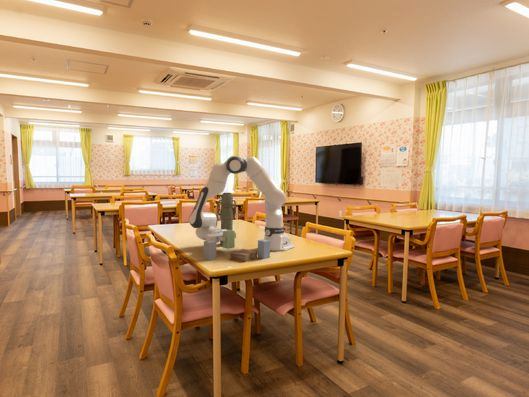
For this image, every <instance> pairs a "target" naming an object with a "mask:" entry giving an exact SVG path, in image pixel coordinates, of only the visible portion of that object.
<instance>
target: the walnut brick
mask: <svg viewBox="0 0 529 397" xmlns="http://www.w3.org/2000/svg"><path fill="white" fill-rule="evenodd" d="M257 258H258V250H257V251H256V250H250V249H245V248H243V249H240V250H239V249H238V250H236V251H233V252H230V260H231V261H232V260H233V261H238V262H244V263H247V262H249V261H252V260H254V259H257Z"/></svg>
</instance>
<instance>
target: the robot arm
mask: <svg viewBox="0 0 529 397" xmlns="http://www.w3.org/2000/svg"><path fill="white" fill-rule="evenodd" d="M244 172H245V174H247V175H248V177H249V178H250V180H251V181H252V183H253V184H254V185H255V186H256V188H257V189H258V190H259V192H261V194H262V195H263V198H264V209H265V210H264V211H265V212H264V213H265V227H264V235H263V237H264V238H263V239H265V240H270V251H274V252H275V251H277V252H278V251H279V252H280V251H281V252H286V251H288V250H291V249H293V248H295V245H294V244H293V243H292V240H291V237H289V235H288V234H286V233H285V231H287V229H288V227H287V226H283V224H284V221H283V218H284V215H283V210H282V206H283V205H284V204H285V203H286V201H287V195H286V193H285V191H283V189H282V188H281V187H280V186H279V185H278V183H277V182H276V180H275V179H273V177H272V176H271V175H270V173H269V172H268V171H267V169H266V168H265V167H264V165H263V164H262V163H261V162H260V161H259V159H257V158H256V156H253V155H252V156H248V157H247V158H242V157H240V156H238V155H231V156H229V157H228V158H227V160H225V162H224V163H222V162H221V163H220V162H217V163H215V164H213V166H212V167H211V170H210V172H209V177H208V180H207V183H206V184H205V186H204V187H202V188H201V190H200V192H199V195H198V197H197V200H196V201H195V205H194V207H193V209H192V211H191V213H190V215H189V217H188V222H189V224H190V226H191V227H192V228H193V229H195V235H196V237H197V238H198V239H200V240H203V241H209V240H212V241H216V244H217V243H220V241H226V238H225V237H223V231H226V230H227V229H221V228H218V227H217V226H218V220H219V219H218V217H217V214H216V213H214V212H208V211H207V212H206V211H205V212H204V209H205V206H206V203H207V201H208V200H209V199H211V198H212V197H215V196H218V195H221V194H223V193H224V191H225V188H226V185H227V182H228V178H229V175H230V174H235V175H237V174H240V173H244ZM236 238H237V232H236V231H235V239H236Z"/></svg>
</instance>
